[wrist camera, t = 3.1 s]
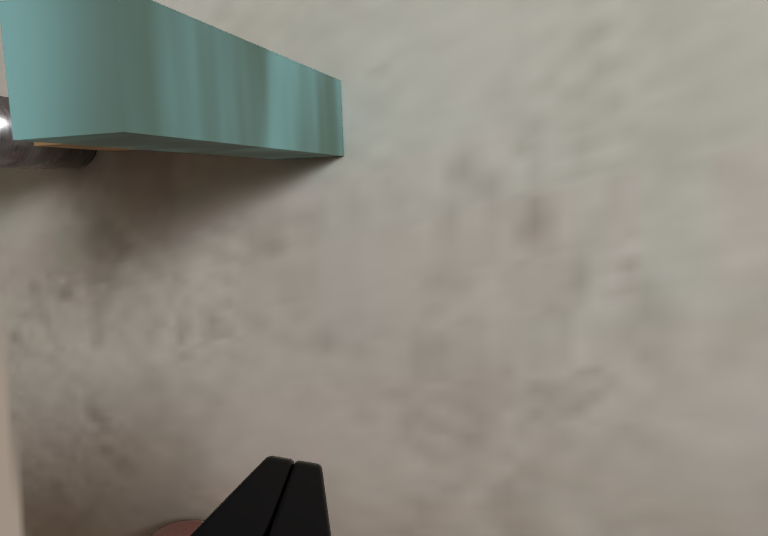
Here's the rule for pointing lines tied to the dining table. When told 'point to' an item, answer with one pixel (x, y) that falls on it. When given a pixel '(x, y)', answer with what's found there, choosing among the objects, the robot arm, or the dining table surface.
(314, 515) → the robot arm
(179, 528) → the beverage can
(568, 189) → the dining table surface
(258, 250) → the dining table surface
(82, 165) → the hinge post
